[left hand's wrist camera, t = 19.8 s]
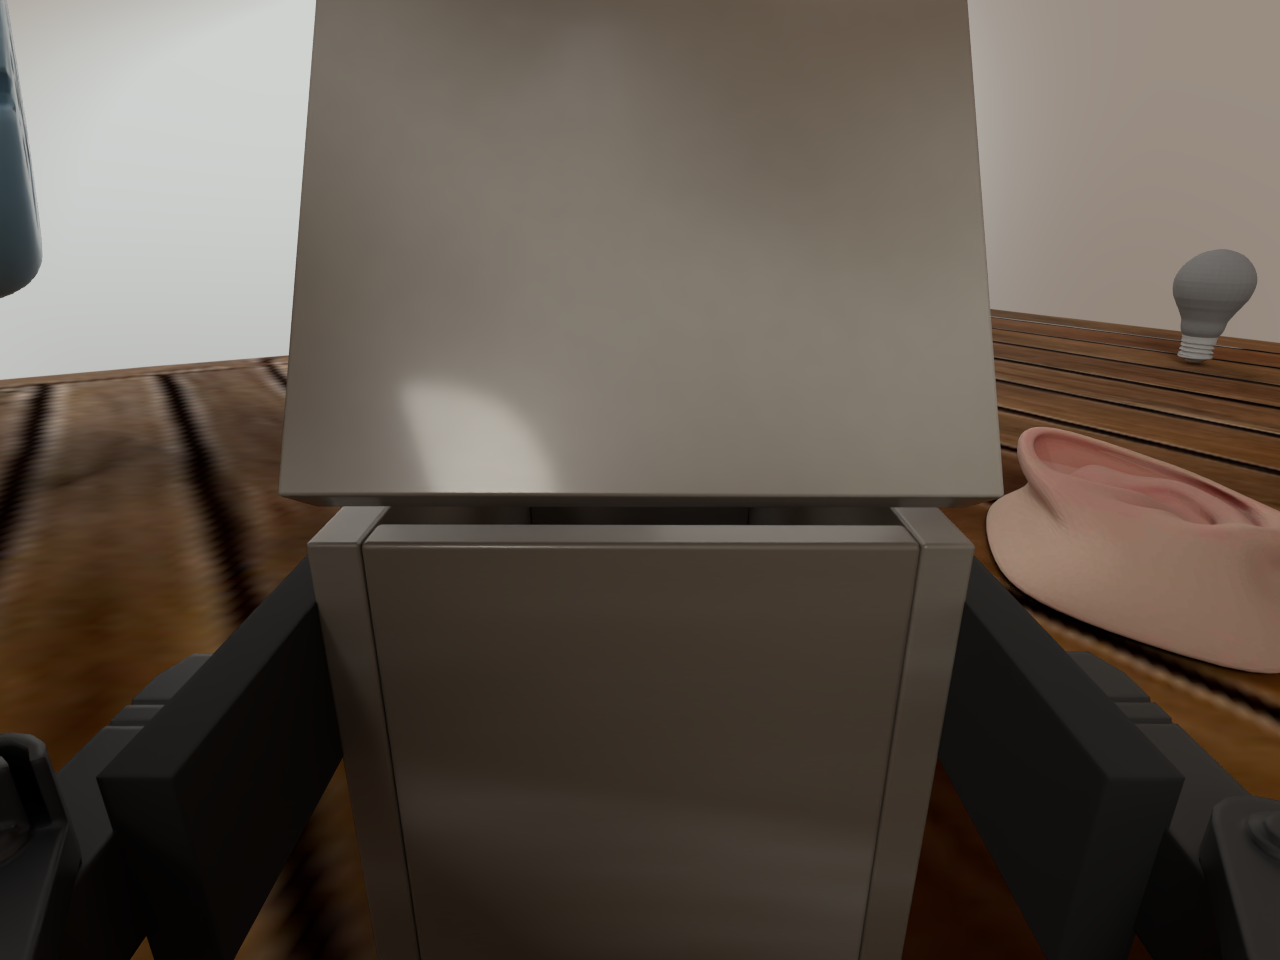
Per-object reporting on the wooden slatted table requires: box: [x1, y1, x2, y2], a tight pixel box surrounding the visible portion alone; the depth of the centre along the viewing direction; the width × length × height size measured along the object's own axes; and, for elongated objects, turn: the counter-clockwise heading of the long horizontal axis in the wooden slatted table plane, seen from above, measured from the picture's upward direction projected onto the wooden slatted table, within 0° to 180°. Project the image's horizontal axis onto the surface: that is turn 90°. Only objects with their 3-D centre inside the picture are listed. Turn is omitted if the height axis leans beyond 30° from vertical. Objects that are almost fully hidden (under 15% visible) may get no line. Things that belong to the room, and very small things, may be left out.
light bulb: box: [1173, 249, 1257, 363], centre depth 67 cm, size 6×6×10 cm
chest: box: [307, 506, 975, 960], centre depth 19 cm, size 16×9×9 cm, turn 0°
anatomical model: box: [986, 427, 1280, 674], centre depth 29 cm, size 13×4×12 cm
